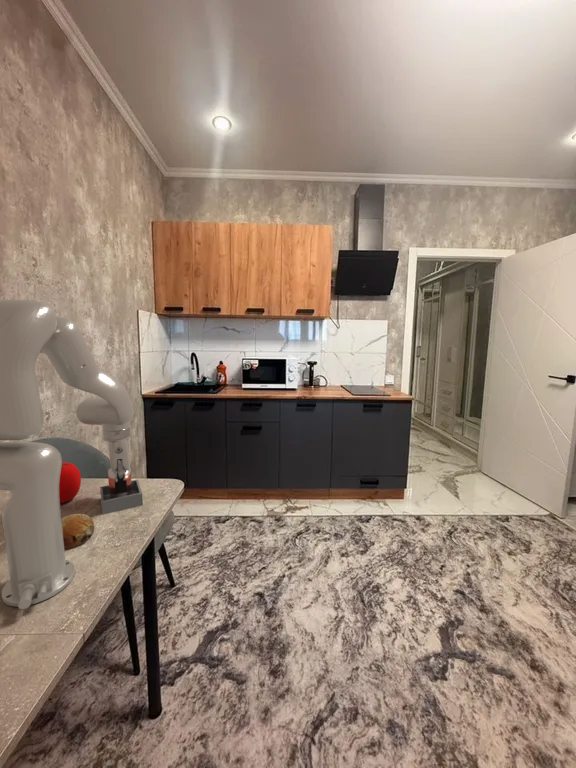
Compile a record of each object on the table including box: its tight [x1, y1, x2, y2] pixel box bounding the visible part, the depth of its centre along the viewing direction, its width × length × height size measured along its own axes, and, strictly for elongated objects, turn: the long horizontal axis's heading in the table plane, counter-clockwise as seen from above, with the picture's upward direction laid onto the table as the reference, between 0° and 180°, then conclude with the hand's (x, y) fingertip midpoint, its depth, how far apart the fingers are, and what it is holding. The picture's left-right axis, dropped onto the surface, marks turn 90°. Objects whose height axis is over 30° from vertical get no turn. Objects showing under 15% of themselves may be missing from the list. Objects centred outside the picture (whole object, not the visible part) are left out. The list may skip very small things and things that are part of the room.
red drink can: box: [107, 465, 133, 499], centre depth 104 cm, size 6×6×9 cm
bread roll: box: [61, 513, 96, 550], centre depth 87 cm, size 10×10×8 cm
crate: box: [99, 479, 144, 515], centre depth 105 cm, size 11×11×4 cm
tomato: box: [59, 462, 82, 504], centre depth 105 cm, size 12×12×13 cm
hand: (120, 487), depth 105 cm, fingers closed on red drink can, 6 cm apart
